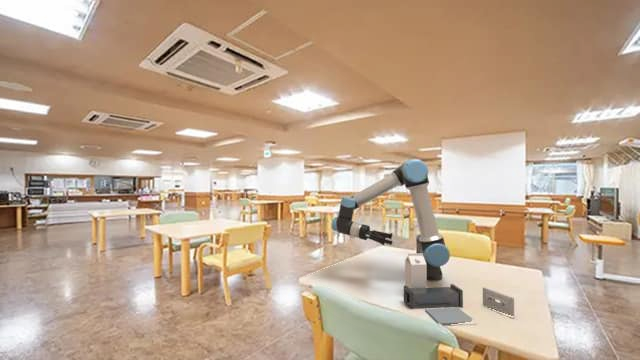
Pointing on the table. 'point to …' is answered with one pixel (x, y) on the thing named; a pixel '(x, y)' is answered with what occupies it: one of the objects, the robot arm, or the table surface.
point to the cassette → (504, 305)
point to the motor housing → (433, 297)
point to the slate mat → (449, 316)
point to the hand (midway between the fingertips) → (402, 242)
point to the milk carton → (415, 271)
